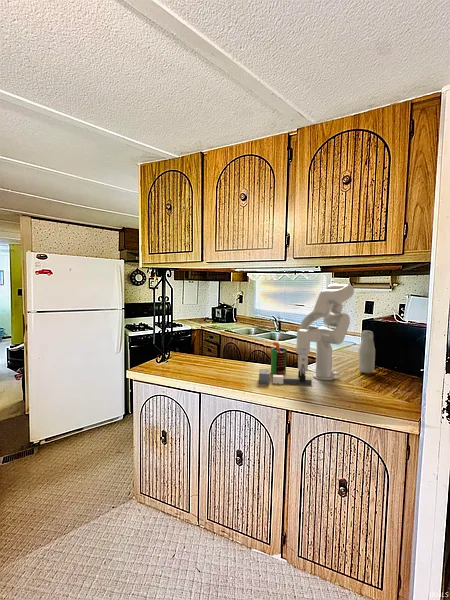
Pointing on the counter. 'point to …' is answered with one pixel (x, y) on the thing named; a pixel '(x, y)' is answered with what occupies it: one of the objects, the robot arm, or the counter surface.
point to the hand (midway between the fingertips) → (301, 380)
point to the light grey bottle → (366, 352)
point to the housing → (264, 376)
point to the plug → (290, 380)
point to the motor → (278, 359)
